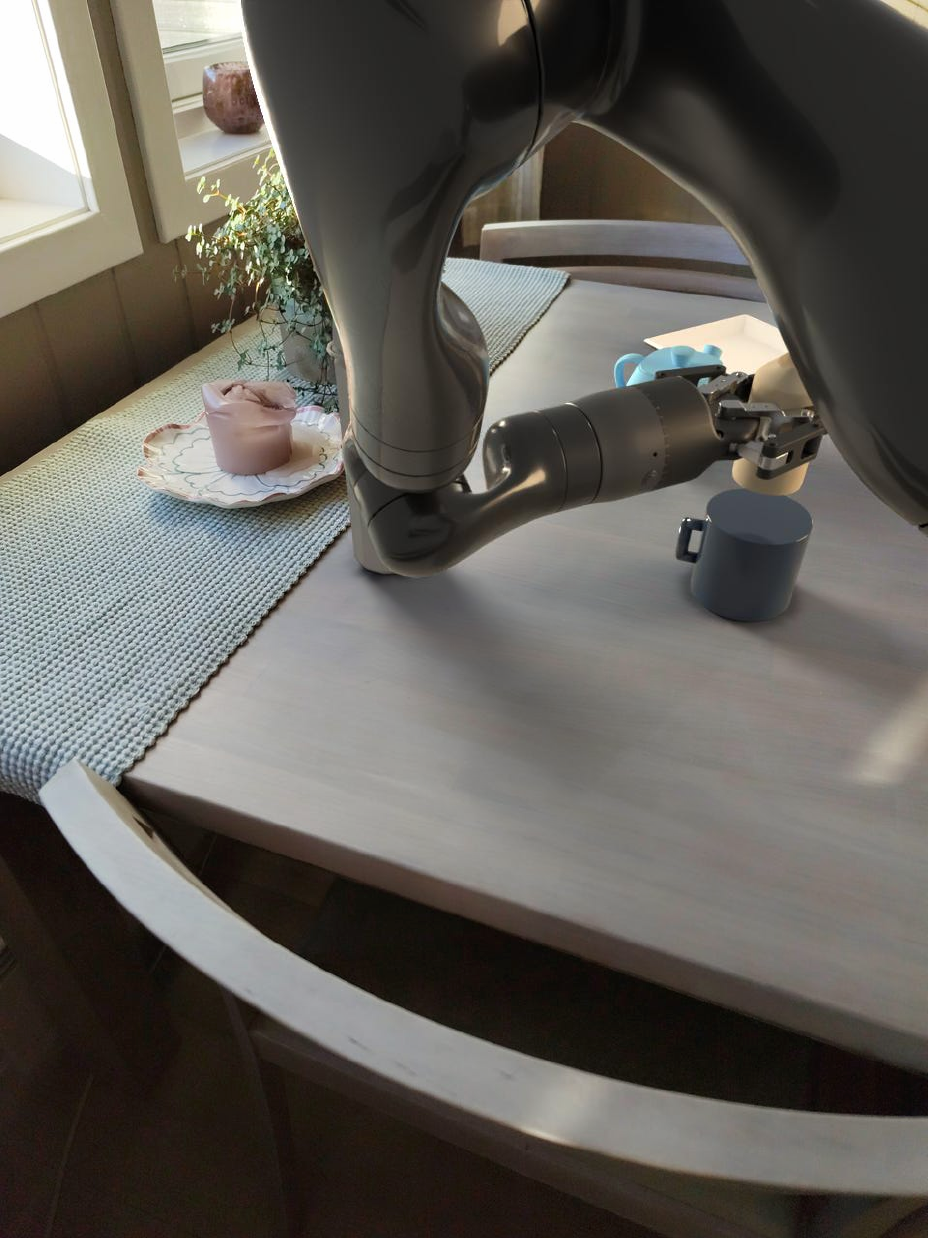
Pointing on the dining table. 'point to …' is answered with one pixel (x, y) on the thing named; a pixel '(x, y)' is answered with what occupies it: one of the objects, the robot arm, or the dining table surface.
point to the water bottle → (360, 534)
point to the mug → (746, 553)
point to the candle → (788, 392)
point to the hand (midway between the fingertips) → (811, 397)
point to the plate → (730, 342)
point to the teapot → (666, 363)
